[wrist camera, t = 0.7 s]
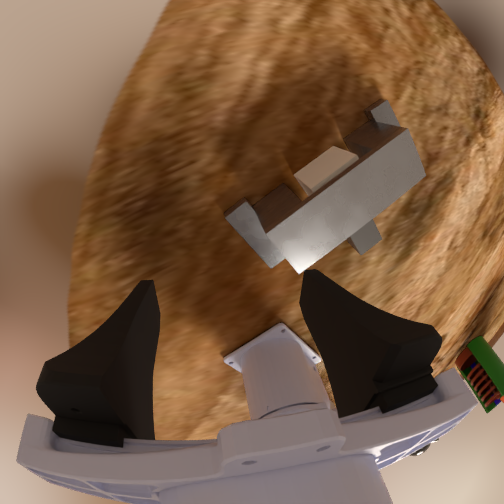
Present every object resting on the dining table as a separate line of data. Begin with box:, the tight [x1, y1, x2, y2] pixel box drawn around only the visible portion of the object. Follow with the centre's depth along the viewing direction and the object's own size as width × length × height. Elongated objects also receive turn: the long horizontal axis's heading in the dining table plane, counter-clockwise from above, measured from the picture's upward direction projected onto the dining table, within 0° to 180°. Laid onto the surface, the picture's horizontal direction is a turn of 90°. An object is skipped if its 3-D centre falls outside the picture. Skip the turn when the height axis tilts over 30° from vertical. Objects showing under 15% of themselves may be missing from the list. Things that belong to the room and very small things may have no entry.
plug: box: [294, 146, 382, 255], centre depth 21 cm, size 8×4×4 cm, turn 37°
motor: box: [455, 336, 504, 413], centre depth 37 cm, size 10×9×20 cm
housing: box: [224, 99, 426, 274], centre depth 19 cm, size 6×16×5 cm, turn 127°
